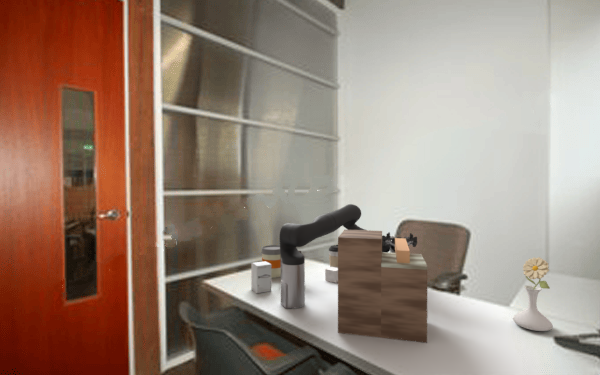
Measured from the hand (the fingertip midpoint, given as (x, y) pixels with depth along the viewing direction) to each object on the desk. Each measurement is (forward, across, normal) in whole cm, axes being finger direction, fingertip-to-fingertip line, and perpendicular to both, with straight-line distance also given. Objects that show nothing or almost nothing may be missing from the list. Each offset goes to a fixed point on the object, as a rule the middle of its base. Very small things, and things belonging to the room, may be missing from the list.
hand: (399, 234), depth 138 cm
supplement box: (-16, -61, +24) cm, 68 cm away
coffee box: (-27, -50, +18) cm, 60 cm away
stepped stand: (+6, -7, +36) cm, 37 cm away
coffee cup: (-49, -32, +5) cm, 58 cm away
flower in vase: (-4, +44, +31) cm, 54 cm away
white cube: (-36, -31, +12) cm, 50 cm away
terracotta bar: (+13, 0, +12) cm, 18 cm away
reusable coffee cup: (-38, -64, +11) cm, 75 cm away
